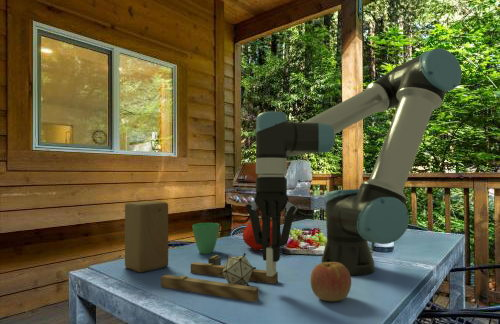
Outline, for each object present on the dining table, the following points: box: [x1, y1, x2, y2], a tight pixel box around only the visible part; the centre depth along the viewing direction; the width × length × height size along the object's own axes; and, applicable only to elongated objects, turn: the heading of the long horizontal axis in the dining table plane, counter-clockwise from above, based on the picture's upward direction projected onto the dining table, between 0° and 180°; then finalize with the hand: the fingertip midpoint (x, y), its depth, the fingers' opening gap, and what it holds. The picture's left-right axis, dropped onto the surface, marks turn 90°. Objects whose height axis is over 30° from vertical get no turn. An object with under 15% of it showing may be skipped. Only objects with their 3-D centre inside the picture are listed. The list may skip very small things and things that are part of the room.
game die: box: [219, 252, 257, 286], centre depth 82 cm, size 9×8×10 cm
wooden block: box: [124, 200, 169, 274], centre depth 101 cm, size 10×10×20 cm
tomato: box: [242, 221, 282, 252], centre depth 124 cm, size 14×16×10 cm
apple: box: [310, 262, 352, 302], centre depth 73 cm, size 9×9×8 cm
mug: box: [192, 222, 220, 255], centre depth 121 cm, size 15×10×10 cm
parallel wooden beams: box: [160, 254, 279, 303], centre depth 85 cm, size 26×18×4 cm
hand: (271, 274), depth 78 cm, fingers closed
